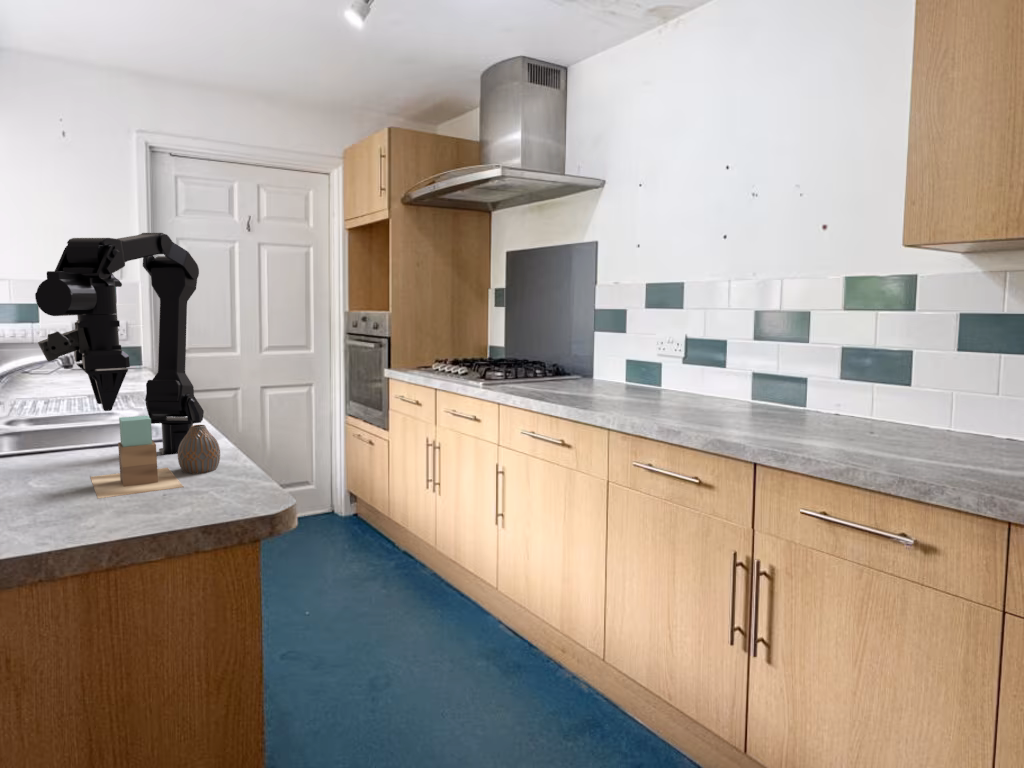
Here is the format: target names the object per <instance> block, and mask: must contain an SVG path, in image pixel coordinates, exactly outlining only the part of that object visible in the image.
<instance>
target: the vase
mask: <svg viewBox="0 0 1024 768" xmlns="http://www.w3.org/2000/svg"><path fill="white" fill-rule="evenodd" d="M220 460H221V448H220V444H219V442H218V440H217V439H216V437H215V436H214V435H213V434H212V433H211V432H210V431H209V430H208V427H206V425H205V424H193V425H192V426H190V429H189V431H188V433H187V434H186V435H185V437H184V438H183V439H182V441H181V443H180V445H179V448H178V454H177V461H178V465H179V467H180V470H181V471H182V472H183V473H185V474H192V475H193V474H195V475H196V474H205V473H210V472H214V471H216V470H217V468H218V467H219V465H220Z"/></svg>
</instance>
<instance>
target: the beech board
mask: <svg viewBox="0 0 1024 768" xmlns="http://www.w3.org/2000/svg"><path fill="white" fill-rule="evenodd" d="M157 471H158V482H157V483H149V484H141V485H133V486H125V487H124V486H123V484H122V482H121V480H120V472H119V473H111V474H103V475H102V474H101V475H93V476H90V480H91V482H92V485H93V488H94V491H95V492H94V493H95V494H96V498H97V500H98V499H105V498H112V497H120V496H126V495H127V496H129V495H134V494H135V495H137V494H143V493H149V492H151V493H152V492H158V491H165V490H167V491H168V490H173V489H180V488H181V489H182V488H184V487H185V485H183V484H182V483H181V481H180V480H179V479H178V478H177V477H176V476H175V474H174V473H173V472H172V471H171V469H170V468H169V467H161V468H157Z"/></svg>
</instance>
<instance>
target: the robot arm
mask: <svg viewBox="0 0 1024 768" xmlns="http://www.w3.org/2000/svg"><path fill="white" fill-rule="evenodd" d="M66 244H67V245H66V246H65V247H64V249H63V252H62V254H61V256H60V259H59V260H58V262H57V265H56V267H55V269H54V271H53V270H49V271H46V279H45V280H43V281H42V282H41V283H40V284H39V285H38V287H37V289H36V292H35V293H34V297H35V302H36V304H37V307H38V308H39V309H40V310H41V311H42V312H43V313H44V314H45V315H48V316H51V317H61V316H62V317H63V316H64V317H65V316H76V317H77V320H76V322H74V329H73V330H69V331H66V332H64V333H61V332H59V331H57V330H56V331H55V332H52V333H48V334H47V339H43V340H40V341H37V344H38V346H39V348H40V350H41V351H42V353H43V355H44V357H45V360H46V361H47V362H52V361H55V360H58V359H59V357H63V356H66V355H68V354H70V353H73V355H74V361H75V362H76V366H78V368H80V369H81V370H82V371H83V372H85V374H87V376H88V379H89V382H90V386H91V389H92V391H93V394H94V399H95V401H96V404H98V405H102V409H103V412H109V411H110V412H111V411H112V409H113V408H114V405H115V403H116V400H117V397H118V395H119V392H120V390H121V387H122V384H123V382H124V380H125V377H126V375H127V374H128V372H129V368H130V366H131V365H130V355H128V354H127V353H126V352H125V351H123V350H122V345H121V344H120V338H119V337H120V336H119V335H120V334H119V328H120V327H121V325H120V320H119V319H118V311H117V310H118V308H117V307H118V306H117V294H116V293H117V292H116V288H119V287H120V288H121V287H122V286H123V284H122V282H121V281H120V279H118V278H116V277H115V275H114V273H116V272H118V271H120V270H121V269H123V268H125V266H126V263H127V262H129V261H134V260H138V259H139V260H140V259H142V267H143V269H144V270H145V271H146V273H147V274H149V276H150V283H151V287H152V289H153V290H154V291H155V293H156V295H157V296H158V298H159V322H158V323H159V324H158V352H157V353H158V356H157V357H158V359H157V361H158V362H157V372H156V374H155V375H154V377H153V378H152V379H148V380H147V382H146V385H145V387H146V395H145V399H144V401H145V406H146V410H147V414H148V415H147V416H149V418H150V419H151V425H154V424H161V437H162V439H161V440H162V447H161V448H158V451H159V453H160V454H161V455H162V456H168V455H170V456H171V455H178V448H179V445H180V443H181V441H182V439H183V438H184V437H185V435H186V434H187V433H188V431H189V429H190V426H192V425H195V424H199V423H202V421H204V411H205V410H204V409H203V408H202V406H201V404H200V403H199V401H198V399H197V398H196V396H195V390H194V389H195V388H194V385H193V383H192V382H191V380H190V378H189V376H188V375H187V373H186V360H187V359H186V353H187V323H188V322H187V319H188V318H187V315H188V301H189V300H190V298H191V297H192V296H193V294H194V293H195V291H196V290H197V284H198V278H199V276H200V269H199V265H198V263H197V261H195V260H196V259H194V258H193V256H192V255H191V253H190V252H189V251H188V250H186V249H185V248H183V247H181V245H180V246H179V245H178V244H176V243H175V241H173V240H172V239H171V237H170V236H169V235H168V234H166V233H163V232H141V233H139V234H136V235H130V236H125V237H118V238H114V237H113V238H112V237H71V238H69V239H68V240H67V242H66ZM159 255H163V256H159ZM155 256H157V257H155ZM80 362H81V363H80Z"/></svg>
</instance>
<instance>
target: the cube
mask: <svg viewBox="0 0 1024 768" xmlns="http://www.w3.org/2000/svg"><path fill="white" fill-rule="evenodd" d="M118 422H119V435H120V437H119V438H120V439H119V440H120V442H121V444H122V446H123V447H129V446H139V445H149V444H152V440H153V433H152V432H153V431H152V424H151V419H150V418H149V415H137V416H136V415H135V416H125V417H124V416H123V417H119V418H118Z"/></svg>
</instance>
